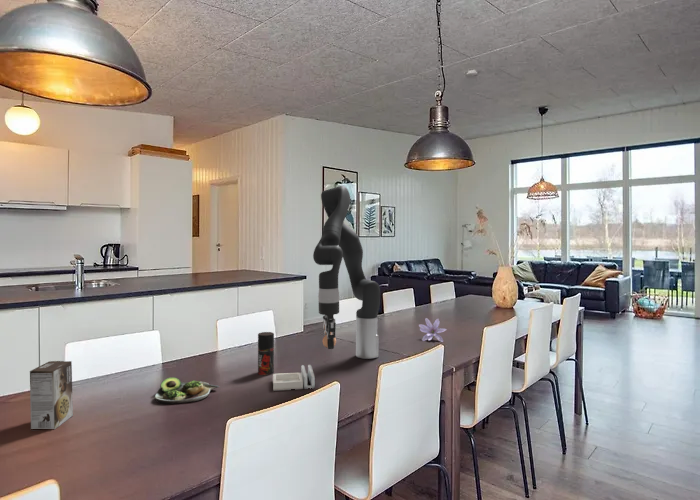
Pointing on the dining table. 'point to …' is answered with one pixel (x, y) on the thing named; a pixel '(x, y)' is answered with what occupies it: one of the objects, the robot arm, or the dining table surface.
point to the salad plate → (182, 391)
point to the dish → (287, 381)
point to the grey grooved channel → (309, 374)
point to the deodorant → (265, 353)
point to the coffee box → (51, 394)
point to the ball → (326, 341)
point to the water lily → (431, 330)
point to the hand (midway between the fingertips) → (329, 346)
